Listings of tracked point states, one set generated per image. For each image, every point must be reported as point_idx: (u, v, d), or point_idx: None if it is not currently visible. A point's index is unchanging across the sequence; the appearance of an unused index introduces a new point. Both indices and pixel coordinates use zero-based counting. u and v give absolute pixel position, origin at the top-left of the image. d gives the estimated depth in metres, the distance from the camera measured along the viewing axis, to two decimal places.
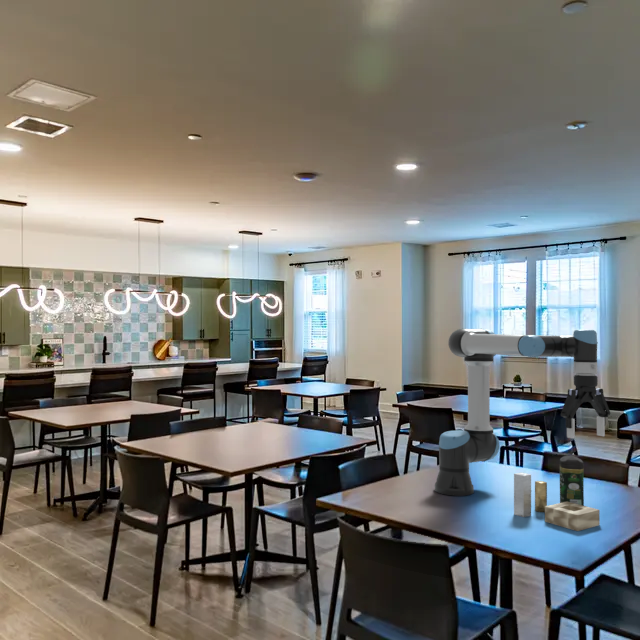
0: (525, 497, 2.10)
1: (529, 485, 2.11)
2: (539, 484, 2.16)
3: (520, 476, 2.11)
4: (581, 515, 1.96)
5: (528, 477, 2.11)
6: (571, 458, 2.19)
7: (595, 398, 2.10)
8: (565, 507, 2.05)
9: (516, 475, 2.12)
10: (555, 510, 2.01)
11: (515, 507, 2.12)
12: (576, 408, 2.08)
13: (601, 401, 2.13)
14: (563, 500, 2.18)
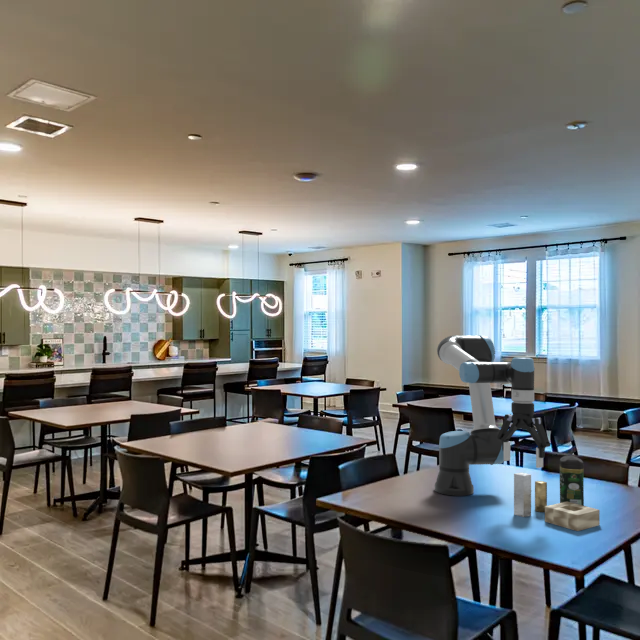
0: (525, 497, 2.10)
1: (529, 485, 2.11)
2: (539, 484, 2.16)
3: (520, 476, 2.11)
4: (581, 515, 1.96)
5: (528, 477, 2.11)
6: (571, 458, 2.19)
7: (526, 426, 2.10)
8: (565, 507, 2.05)
9: (516, 475, 2.12)
10: (555, 510, 2.01)
11: (515, 507, 2.12)
12: (507, 433, 2.16)
13: None
14: (563, 500, 2.18)
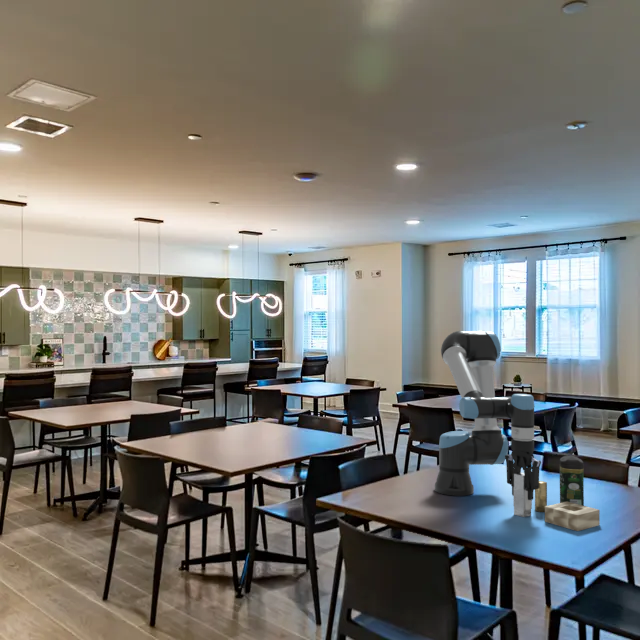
0: None
1: None
2: (539, 484, 2.16)
3: (520, 476, 2.11)
4: (581, 515, 1.96)
5: None
6: (571, 458, 2.19)
7: (523, 465, 2.10)
8: (565, 507, 2.05)
9: (516, 475, 2.12)
10: (555, 510, 2.01)
11: (515, 507, 2.12)
12: None
13: None
14: (563, 500, 2.18)
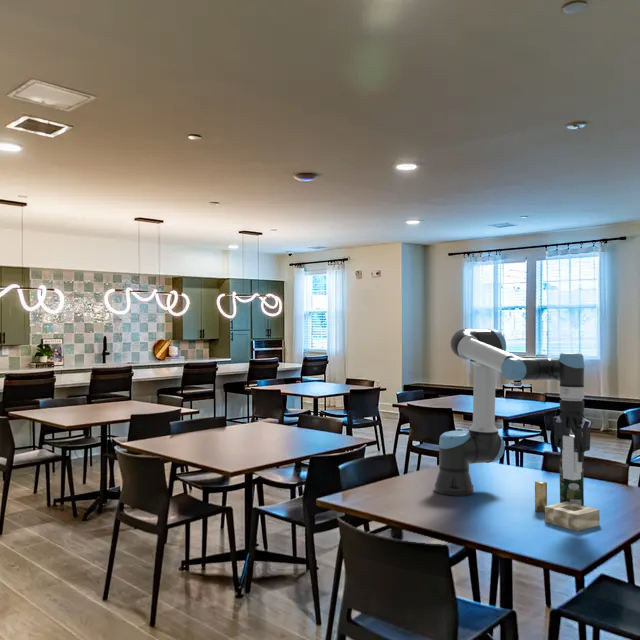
0: None
1: None
2: (539, 484, 2.16)
3: (570, 438, 2.02)
4: (581, 515, 1.96)
5: None
6: None
7: (573, 426, 2.01)
8: (565, 507, 2.05)
9: (565, 437, 2.03)
10: (555, 510, 2.01)
11: (564, 470, 2.03)
12: (562, 437, 2.05)
13: None
14: (563, 500, 2.18)
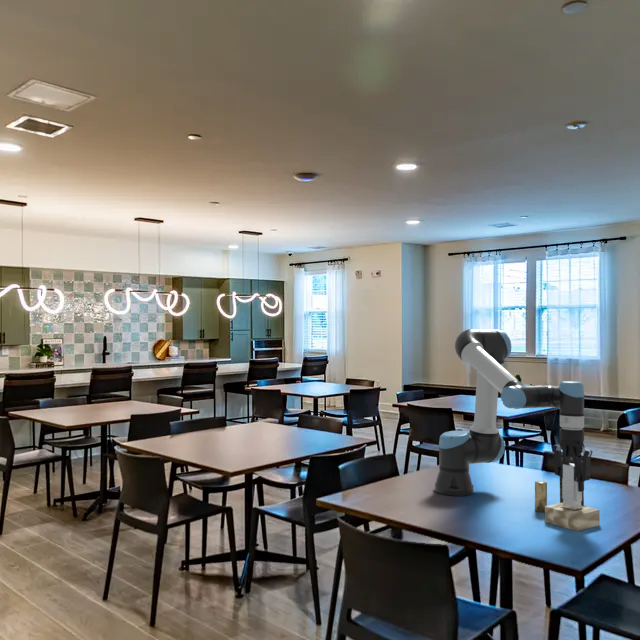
0: None
1: None
2: (539, 484, 2.16)
3: (570, 467, 2.02)
4: (581, 515, 1.96)
5: None
6: (571, 458, 2.19)
7: (573, 455, 2.01)
8: None
9: (565, 466, 2.03)
10: (555, 510, 2.01)
11: (564, 499, 2.03)
12: (562, 465, 2.05)
13: None
14: None
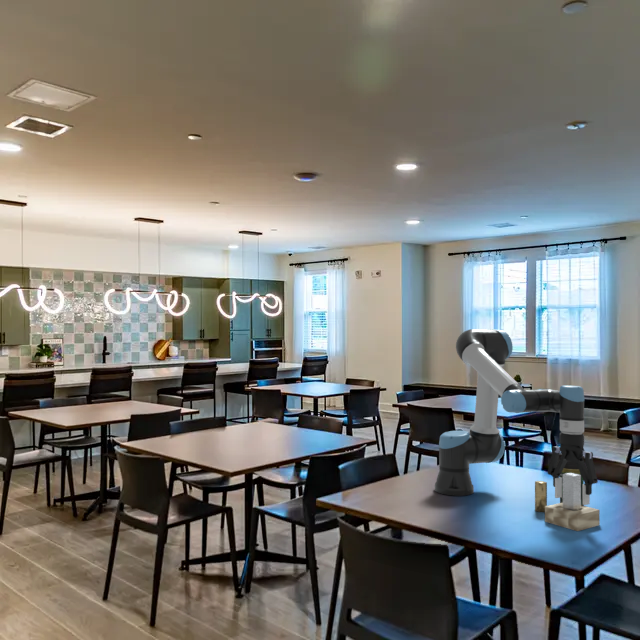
0: (575, 498, 2.01)
1: (579, 486, 2.02)
2: (539, 484, 2.16)
3: (569, 476, 2.02)
4: (581, 515, 1.96)
5: (578, 477, 2.02)
6: None
7: (575, 459, 2.01)
8: None
9: (565, 475, 2.03)
10: (555, 510, 2.01)
11: None
12: (558, 467, 2.06)
13: None
14: None
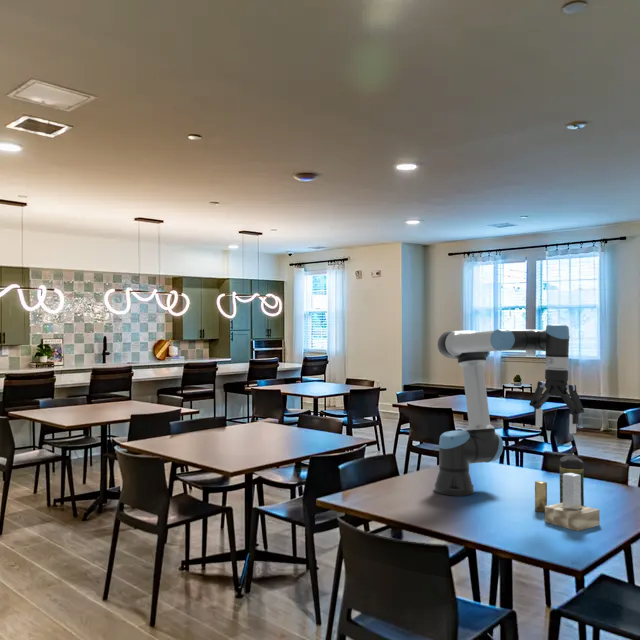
0: (575, 498, 2.01)
1: (579, 486, 2.02)
2: (539, 484, 2.16)
3: (569, 476, 2.02)
4: (581, 515, 1.96)
5: (578, 478, 2.02)
6: (571, 458, 2.19)
7: (559, 393, 2.10)
8: None
9: (565, 475, 2.03)
10: (555, 510, 2.01)
11: None
12: (540, 399, 2.18)
13: None
14: None
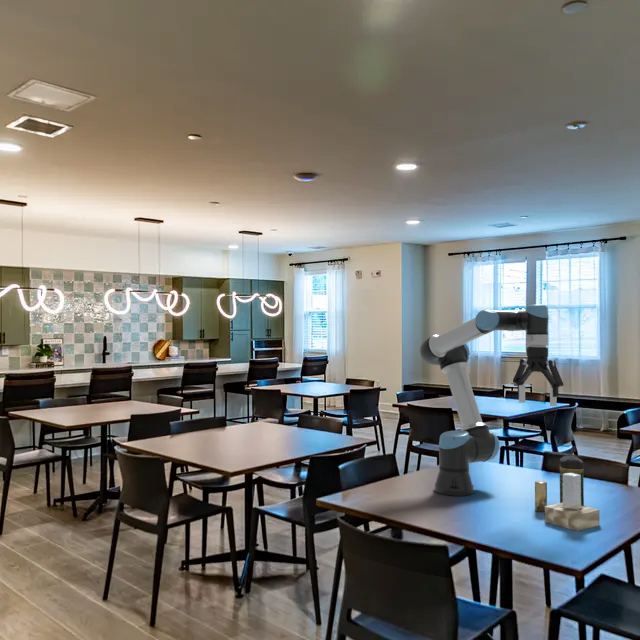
0: (575, 498, 2.01)
1: (579, 486, 2.02)
2: (539, 484, 2.16)
3: (569, 476, 2.02)
4: (581, 515, 1.96)
5: (578, 478, 2.02)
6: (571, 458, 2.19)
7: (540, 368, 2.24)
8: None
9: (565, 475, 2.03)
10: (555, 510, 2.01)
11: None
12: (523, 376, 2.31)
13: None
14: None
